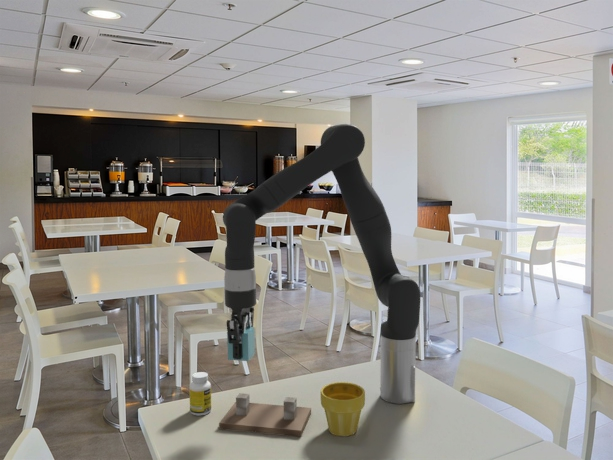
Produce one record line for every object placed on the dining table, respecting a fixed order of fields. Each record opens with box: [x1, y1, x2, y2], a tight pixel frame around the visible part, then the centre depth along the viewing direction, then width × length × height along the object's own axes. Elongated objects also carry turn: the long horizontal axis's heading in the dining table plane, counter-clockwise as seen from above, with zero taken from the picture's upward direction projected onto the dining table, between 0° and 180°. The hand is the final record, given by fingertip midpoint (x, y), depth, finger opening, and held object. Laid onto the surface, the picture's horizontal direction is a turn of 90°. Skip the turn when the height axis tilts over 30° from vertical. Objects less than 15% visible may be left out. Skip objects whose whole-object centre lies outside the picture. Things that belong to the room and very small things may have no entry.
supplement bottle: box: [188, 371, 212, 417], centre depth 137 cm, size 5×5×10 cm
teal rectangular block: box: [226, 326, 256, 362], centre depth 131 cm, size 5×5×7 cm
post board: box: [218, 392, 312, 438], centre depth 132 cm, size 20×12×6 cm, turn 78°
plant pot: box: [320, 381, 366, 437], centre depth 127 cm, size 10×10×10 cm
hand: (241, 354), depth 132 cm, fingers closed on teal rectangular block, 5 cm apart
